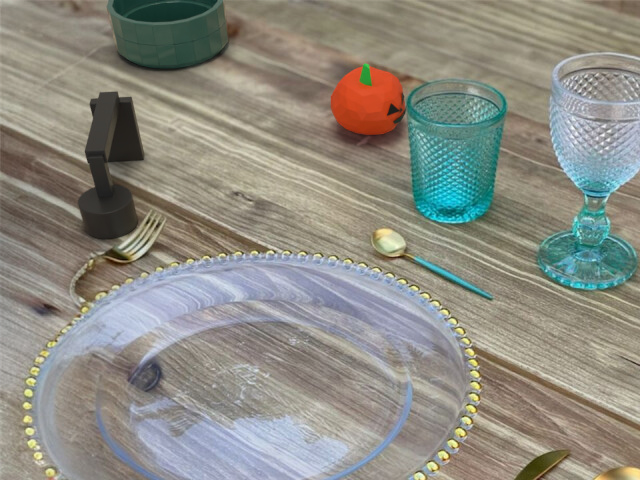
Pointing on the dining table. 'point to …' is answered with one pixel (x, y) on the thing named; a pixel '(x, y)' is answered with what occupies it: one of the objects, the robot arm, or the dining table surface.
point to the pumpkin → (368, 101)
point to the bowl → (168, 31)
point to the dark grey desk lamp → (104, 146)
